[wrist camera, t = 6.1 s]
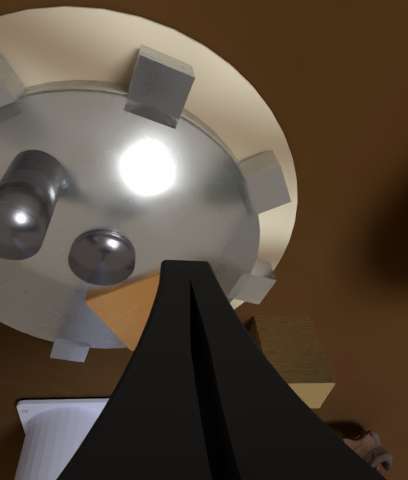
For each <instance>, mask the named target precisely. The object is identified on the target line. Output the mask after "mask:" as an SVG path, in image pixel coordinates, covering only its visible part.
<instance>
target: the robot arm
mask: <svg viewBox="0 0 408 480" xmlns="http://www.w3.org/2000/svg"><path fill="white" fill-rule="evenodd" d="M17 411H18V414H19V417H20V420H21V423H22V426H23V429H24V432H25V435H26V436H25V440H24V443H23V447H22V451H21V455H20V459H19V463H18V467H17V471H16V475H15V479H14V480H387V479H386V478H385V477H383V476H382V475H381V474H380V473H379V472H378V471H376V470H375V469H374V468H373V467H372V466H371V465H369V464H368V463H367V462H366V461H365V460H364V459H362V458H361V457H360V456H359V455H358V454H357V453H356V452H354V451H353V450H352V449H351V448H350V447H349V446H348V445H347V444H346V443H345V442H344V441H343V440H341V439H340V438H339V437H338V436H337V435H336V434H335V433H334V432H333V431H332V430H331V429H330V428H329V427H328V426H327V425H326V424H325V423H324V422H323V421H322V420H321V419H320V418H319V417H318V416H317V415H316V414H315V413H314V412H313V411H312V410H311V409H310V408H309V406H308V405H307V404H306V403H305V402H304V401H303V400H302V399H301V398H300V397H299V396H298V395H297V394H296V393H295V392H294V390H293V389H292V388H291V387H290V386H289V385H288V384H287V382H286V381H285V380H284V379H283V378H282V377H281V375H280V374H279V373H278V372H277V370H276V369H275V368H274V367H273V365H272V364H271V363H270V362H269V360H268V359H267V358H266V356H265V355H264V354H263V352H262V351H261V350H260V348H259V347H258V346H257V344H256V343H255V341H254V340H253V338H252V337H251V336H250V334H249V333H248V331H247V330H246V328H245V327H244V325H243V323H242V322H241V320H240V319H239V317H238V315H237V314H236V312H235V311H234V309H233V307H232V306H231V304H230V302H229V300H228V299H227V297H226V295H225V293H224V291H223V290H222V288H221V286H220V284H219V282H218V280H217V278H216V276H215V274H214V272H213V270H212V267H211V265H210V264H209V263H208V262H207V261H189V260H164V261H162V262H161V267H160V278H159V285H158V289H157V293H156V296H155V299H154V302H153V305H152V308H151V311H150V314H149V317H148V320H147V322H146V325H145V327H144V330H143V332H142V334H141V337H140V339H139V342H138V344H137V346H136V348H135V350H134V353H133V355H132V357H131V359H130V361H129V363H128V365H127V367H126V369H125V371H124V373H123V375H122V377H121V378H120V380H119V382H118V384H117V386H116V387H115V389H114V391H113V393H112V395H111V396H110V398H98V399H49V400H21V401H19V402H18V403H17Z"/></svg>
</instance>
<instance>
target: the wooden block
mask: <svg viewBox="0 0 408 480" xmlns="http://www.w3.org/2000/svg"><path fill="white" fill-rule="evenodd" d="M248 333H249V334H250V336H251V337H252V338H253V340H254V341H255V343H256V344H257V346H258V347H259V348H260V350H261V351H262V352H263V354H264V355H265V356H266V358H267V359H268V360H269V362H270V363H271V364H272V365H273V367H274V368H275V369H276V370H277V372H278V373H279V374H280V375H281V377H282V378H283V379H284V380H285V381H286V382H287V384H288V385H289V386H290V387H291V388H292V389H293V390H294V392H295V393H296V394H297V395H298V396H299V397H300V398H301V399H302V400H303V401H304V402H305V403H306V404H307V405H308V406H309V408H320V406H321V405H322V403H323V402H324V400H325V399H326V397H327V396H328V394H329V393H330V391H331V389H332V388H333V386H334V385H335V383H336V382H335V379H334V377H333V374H332V372H331V369H330V367H329V364H328V362H327V359H326V356H325V354H324V351H323V349H322V346H321V344H320V341H319V339H318V336H317V334H316V331H315V328H314V326H313V323H312V321H311V318H310V316H254V317H253V320H252V323H251V326H250V329H249V332H248Z"/></svg>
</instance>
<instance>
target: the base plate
mask: <svg viewBox="0 0 408 480" xmlns="http://www.w3.org/2000/svg"><path fill="white" fill-rule="evenodd" d="M141 44H142V45H145V46H147V47H150V48H152V49H154V50H157V51H159V52H161V53H164V54H166V55H168V56H171V57H173V58H175V59H178V60H180V61H182V62H185V63H187V64H189V65H192V67H193V71H194V75H195V80H194V82H193V85H192V87H191V90H190V93H189V95H188V98H187V100H186V103H185V105H184V109H186V110H187V111H189V112H191V113H192V114H194V115H195V116H197V117H198V118H199V119H201V120H202V121H203V122H204V123H205V124H207V125H208V126H209V127H210V128H211V129H213V130H214V131H215V132H216V133H217V134H218V136H219V137H220V138H221V139H222V140H223V141H224V142H225V143H226V144H227V146H228V147H229V148H230V150H231V151H232V153H233V154H234V156H235V157H236V159H237V160H238V162H242V161H244V160H247V159H249V158H252V157H254V156H257V155H259V154H262V153H264V152H267V151H269V150H273V152H274V154H275V156H276V158H277V160H278V162H279V164H280V165H281V169H282V172H283V175H284V179H285V182H286V185H287V189H288V192H289V195H290V199H291V202H289V203H287V204H284V205H281V206H279V207H276V208H273V209H271V210H268V211H265V212H263V213H260V214H258V216H259V224H260V242H259V249H258V254H257V258H259V259H263V260H266V261H270V263H271V266H272V269H273V271H274V269H275V267H276V266H277V264H278V263H279V261H280V259H281V258H282V256H283V253H284V251H285V249H286V247H287V245H288V242H289V240H290V237H291V233H292V230H293V226H294V223H295V216H296V208H297V179H296V174H295V169H294V163H293V158H292V155H291V152H290V150H289V147H288V144H287V141H286V138H285V136H284V134H283V132H282V130H281V128H280V126H279V124H278V123H277V121H276V119H275V117H274V115H273V113H272V112H271V110H270V108H269V107H268V106H267V104H266V103H265V102H264V100H263V99H262V98H261V96H260V95H259V94H258V92H257V91H256V90H255V89H254V87H253V86H252V85H251V84H250V83H249V82H248V81H247V80H246V79H245V78H244V77H243V76H242V75H241V74H240V73H239V72H238V71H237V70H236V69H235V68H234V67H233V66H232V65H231V64H229V63H228V62H227V61H225V60H224V59H223V58H221V57H220V56H218V55H217V54H216V53H214V52H213V51H212V50H210V49H209V48H208V47H206V46H205V45H203V44H201V43H199V42H198V41H196V40H194V39H192V38H190V37H188V36H186V35H185V34H183V33H181V32H179V31H177V30H175V29H173V28H171V27H168V26H165V25H162V24H160V23H157V22H154V21H152V20H149V19H146V18H144V17H141V16H137V15H132V14H128V13H123V12H119V11H114V10H109V9H105V8H93V7H79V6H55V7H42V8H30V9H25V10H21V11H17V12H13V13H9V14H4V15H0V51H1V52H2V54H3V55H4V57H5V58H6V60H7V61H8V62H9V64H10V65H11V67H12V68H13V70H14V71H15V72H16V74H17V75H18V77H19V78H20V80H21V81H22V82H23V84H24V85H25V87H30V86H34V85H39V84H43V83H47V82H54V81H66V80H95V81H107V82H112V83H118V84H123V85H129V83H130V80H131V77H132V73H133V70H134V66H135V63H136V60H137V56H138V53H139V50H140V46H141ZM243 302H245V301H241V300H237V299H233V300H232V301H231V302H230V304H231V306H232V307H233V309H236V308H237V307H238V306H240V305H241V304H242V303H243Z"/></svg>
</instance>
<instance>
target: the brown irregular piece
mask: <svg viewBox="0 0 408 480" xmlns="http://www.w3.org/2000/svg"><path fill="white" fill-rule="evenodd" d="M342 440H343V441H344V442H345V443H346V444H347V445H348V446H349V447H350V448H351V449H352V450H353V451H354V452H356V453H357V454H358V455H359V456H360V457H361V458H362V459H364V460H365V461H366V462H367V463H368V464H369V465H371V466H372V467H373V468H374V469H375V470H376V471H378V472H379V473H380V474H381V475H382V476H383V477H385V478H386V475H385V474H384V473H382V472H381V471H380V470H379V466H380V463H381V464H382V466H383V467H384V468H385V469H386V470H387V471H389V470H390V468H391V465H392V463H393V458H392V455H391V454H390V453H389V452H387V451H386V450H385V449H383V448H382V445H381V441H380V438H379V436H378V434H377V432H375V431H371V430H370V431H368V432H367V431H365V430H361V433H360V437H358V438H357V439H354V440H351V439H348V438H342Z"/></svg>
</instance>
